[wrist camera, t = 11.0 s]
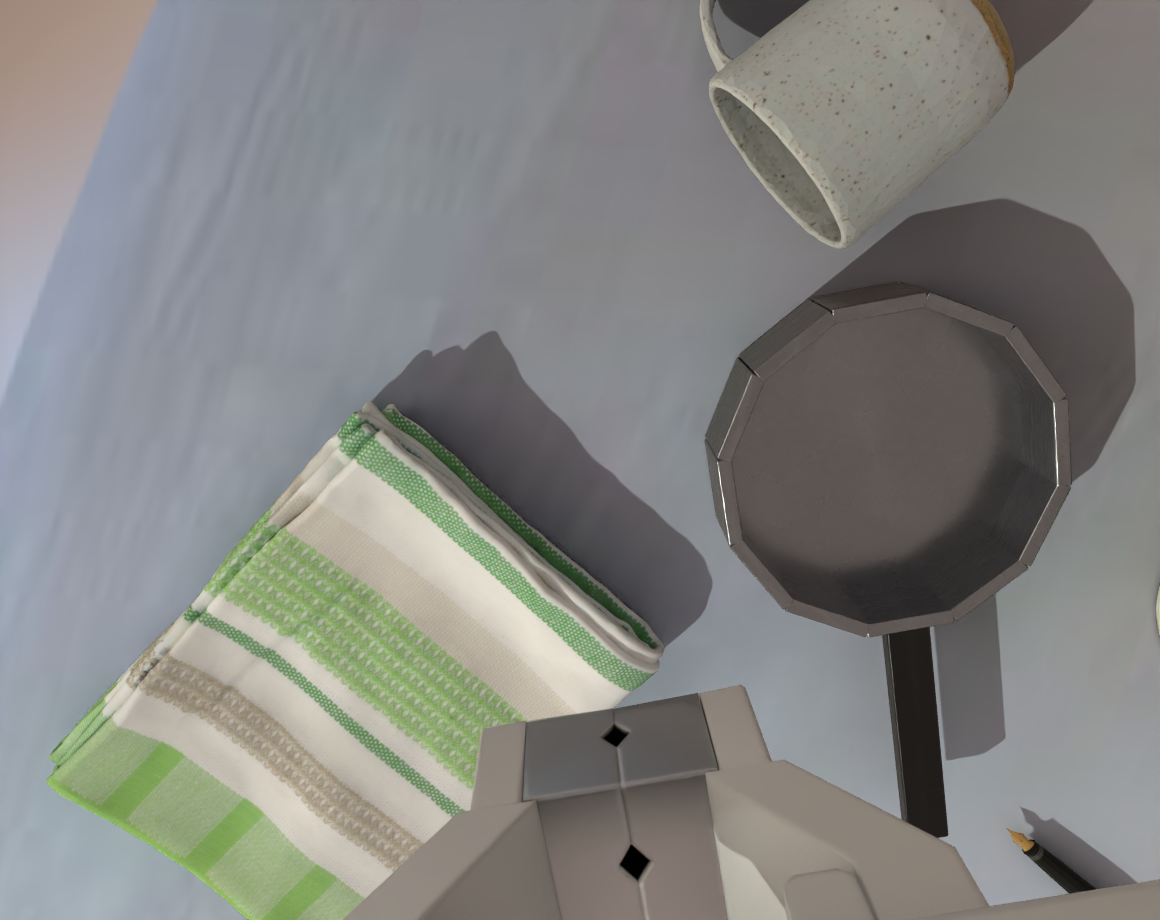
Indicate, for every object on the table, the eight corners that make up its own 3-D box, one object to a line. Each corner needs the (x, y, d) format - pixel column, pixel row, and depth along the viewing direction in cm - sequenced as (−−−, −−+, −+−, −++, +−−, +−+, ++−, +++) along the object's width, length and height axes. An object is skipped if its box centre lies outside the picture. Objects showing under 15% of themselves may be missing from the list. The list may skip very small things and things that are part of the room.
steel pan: (1022, 258, 41) (1063, 266, 38) (1051, 774, 48) (1087, 819, 45) (686, 320, 41) (697, 333, 38) (762, 823, 48) (777, 871, 45)
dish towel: (672, 640, 45) (682, 679, 42) (341, 953, 50) (325, 1011, 46) (379, 382, 42) (363, 402, 38) (49, 743, 46) (10, 789, 43)
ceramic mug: (977, 104, 39) (1073, 86, 32) (810, 247, 41) (865, 261, 33) (809, -126, 37) (870, -203, 30) (639, 33, 38) (656, -3, 31)
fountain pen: (991, 827, 49) (1004, 847, 47) (1009, 810, 48) (1023, 830, 47) (1180, 984, 51) (1197, 1007, 50) (1198, 969, 51) (1216, 993, 50)
